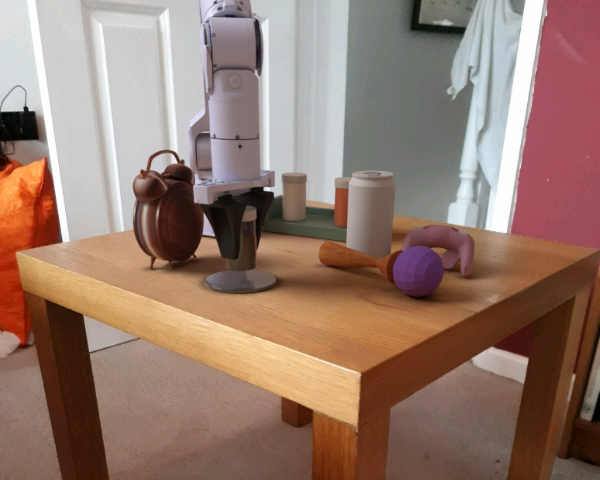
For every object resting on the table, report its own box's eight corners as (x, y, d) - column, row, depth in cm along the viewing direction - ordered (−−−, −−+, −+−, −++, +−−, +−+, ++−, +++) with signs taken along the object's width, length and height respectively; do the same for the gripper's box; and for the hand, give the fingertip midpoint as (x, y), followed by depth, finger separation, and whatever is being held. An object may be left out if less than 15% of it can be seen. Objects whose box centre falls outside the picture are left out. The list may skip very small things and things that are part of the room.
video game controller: (471, 282, 87) (479, 231, 87) (469, 276, 82) (478, 222, 82) (399, 275, 90) (407, 226, 89) (395, 268, 85) (403, 217, 85)
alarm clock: (182, 253, 94) (173, 145, 87) (209, 257, 92) (202, 147, 85) (134, 272, 85) (120, 153, 78) (163, 277, 83) (151, 155, 76)
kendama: (346, 232, 89) (458, 250, 74) (341, 275, 91) (449, 300, 76) (313, 229, 86) (424, 248, 71) (308, 274, 87) (415, 301, 73)
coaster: (191, 286, 80) (191, 283, 80) (231, 268, 87) (231, 266, 87) (251, 297, 76) (251, 294, 76) (288, 278, 83) (288, 275, 83)
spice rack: (263, 230, 107) (262, 200, 105) (289, 220, 114) (289, 192, 112) (360, 243, 100) (361, 211, 98) (381, 232, 107) (383, 201, 105)
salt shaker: (277, 219, 107) (276, 174, 104) (289, 215, 110) (289, 171, 107) (298, 222, 105) (299, 176, 102) (310, 217, 108) (311, 173, 105)
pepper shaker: (218, 268, 80) (214, 209, 76) (236, 260, 83) (234, 204, 80) (246, 272, 78) (244, 213, 74) (264, 264, 81) (262, 207, 78)
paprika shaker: (328, 226, 103) (330, 179, 99) (340, 221, 106) (341, 176, 103) (352, 228, 101) (354, 181, 98) (363, 223, 104) (365, 178, 101)
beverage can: (389, 255, 94) (395, 169, 88) (390, 267, 88) (397, 176, 82) (346, 253, 94) (349, 168, 89) (345, 265, 89) (348, 175, 83)
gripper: (228, 145, 66) (233, 272, 72) (295, 134, 77) (295, 245, 84) (174, 141, 69) (184, 264, 75) (247, 131, 80) (250, 239, 87)
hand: (239, 254), depth 80 cm, fingers closed on pepper shaker, 4 cm apart
